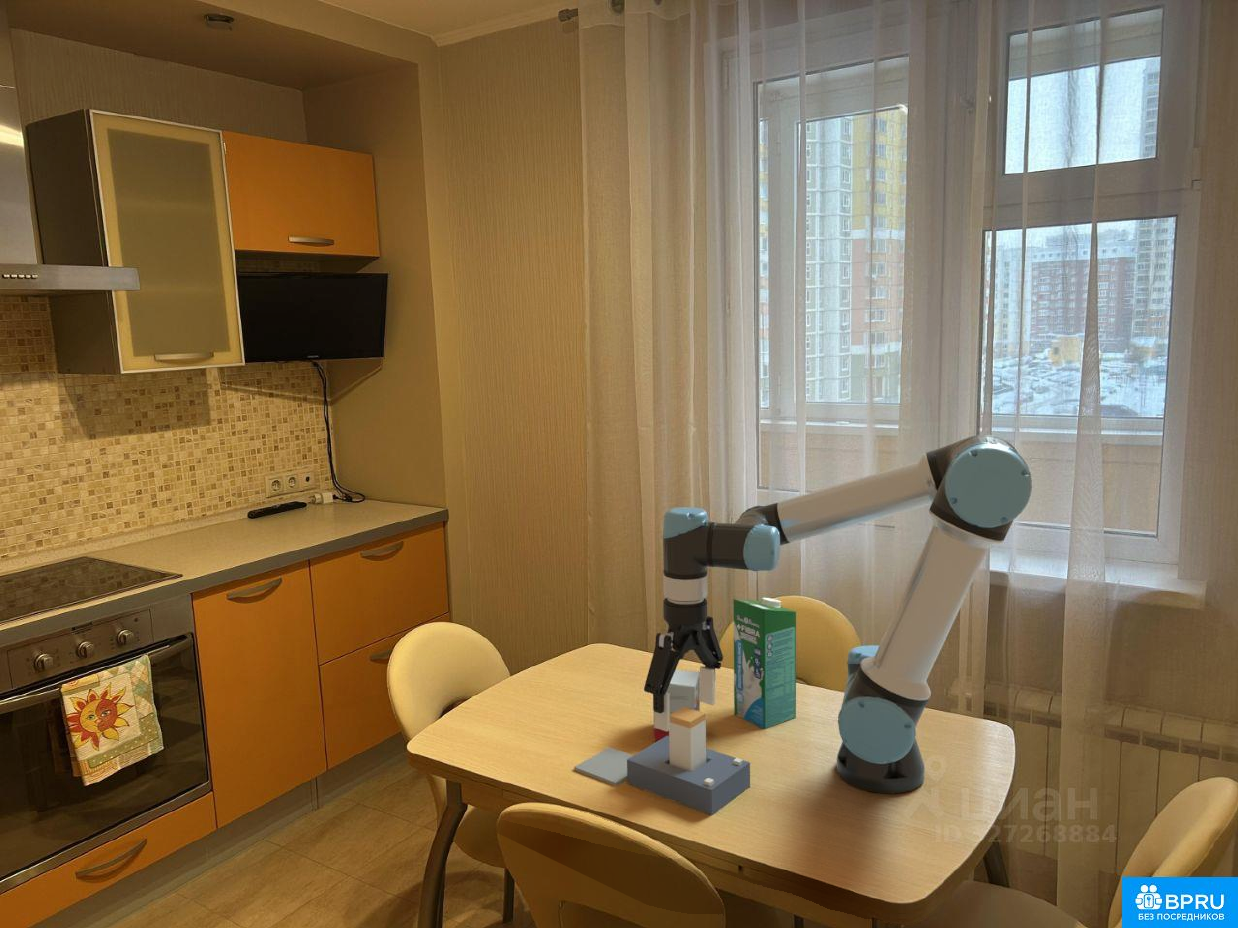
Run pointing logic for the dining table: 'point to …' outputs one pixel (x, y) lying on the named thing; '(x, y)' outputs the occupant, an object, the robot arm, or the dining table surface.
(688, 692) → the ink box
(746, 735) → the dining table surface
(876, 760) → the robot arm
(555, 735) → the dining table surface
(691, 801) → the grey square-hole block
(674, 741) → the plug
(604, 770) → the mat
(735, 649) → the milk carton
